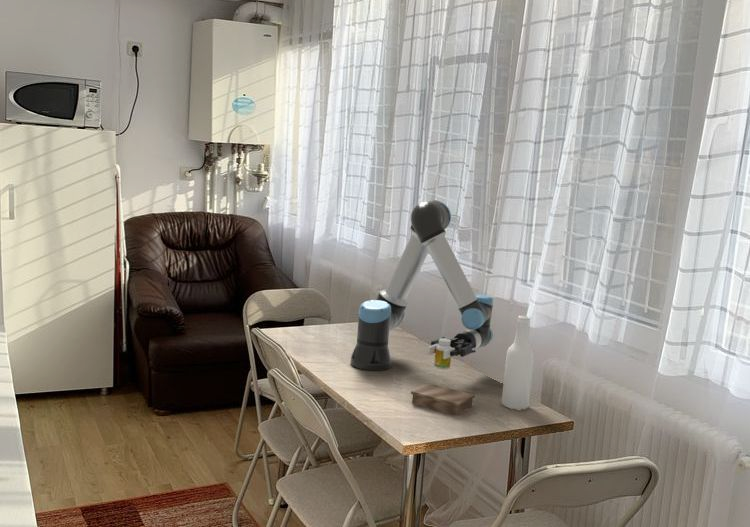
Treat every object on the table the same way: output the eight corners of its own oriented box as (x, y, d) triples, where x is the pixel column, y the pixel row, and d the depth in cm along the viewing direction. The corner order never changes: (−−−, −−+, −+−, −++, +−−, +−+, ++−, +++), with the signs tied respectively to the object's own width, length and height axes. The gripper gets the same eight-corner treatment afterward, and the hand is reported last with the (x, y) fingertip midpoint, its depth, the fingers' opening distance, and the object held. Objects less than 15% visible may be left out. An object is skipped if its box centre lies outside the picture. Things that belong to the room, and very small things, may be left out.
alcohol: (496, 401, 261) (506, 313, 256) (520, 401, 263) (530, 313, 258) (508, 410, 252) (518, 319, 248) (533, 410, 255) (543, 320, 250)
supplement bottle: (439, 370, 265) (442, 342, 264) (431, 365, 270) (434, 338, 268) (452, 369, 268) (455, 341, 266) (444, 364, 272) (447, 337, 271)
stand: (409, 403, 252) (410, 391, 252) (427, 394, 262) (428, 383, 262) (457, 416, 243) (458, 403, 243) (474, 407, 253) (475, 395, 253)
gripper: (489, 357, 279) (459, 370, 259) (443, 345, 288) (411, 357, 269) (491, 336, 278) (462, 348, 258) (445, 326, 287) (413, 336, 268)
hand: (436, 352), depth 264 cm, fingers closed on supplement bottle, 5 cm apart
